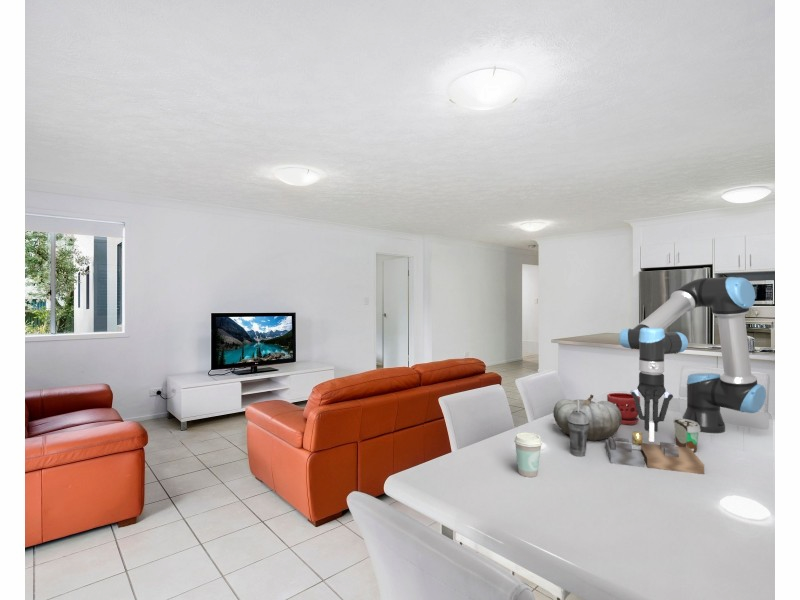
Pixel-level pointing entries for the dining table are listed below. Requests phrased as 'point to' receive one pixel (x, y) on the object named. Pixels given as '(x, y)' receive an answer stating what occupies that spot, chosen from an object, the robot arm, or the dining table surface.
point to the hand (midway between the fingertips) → (650, 440)
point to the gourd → (590, 416)
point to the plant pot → (628, 411)
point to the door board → (654, 456)
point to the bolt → (635, 440)
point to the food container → (686, 433)
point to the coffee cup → (528, 453)
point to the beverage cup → (578, 432)
